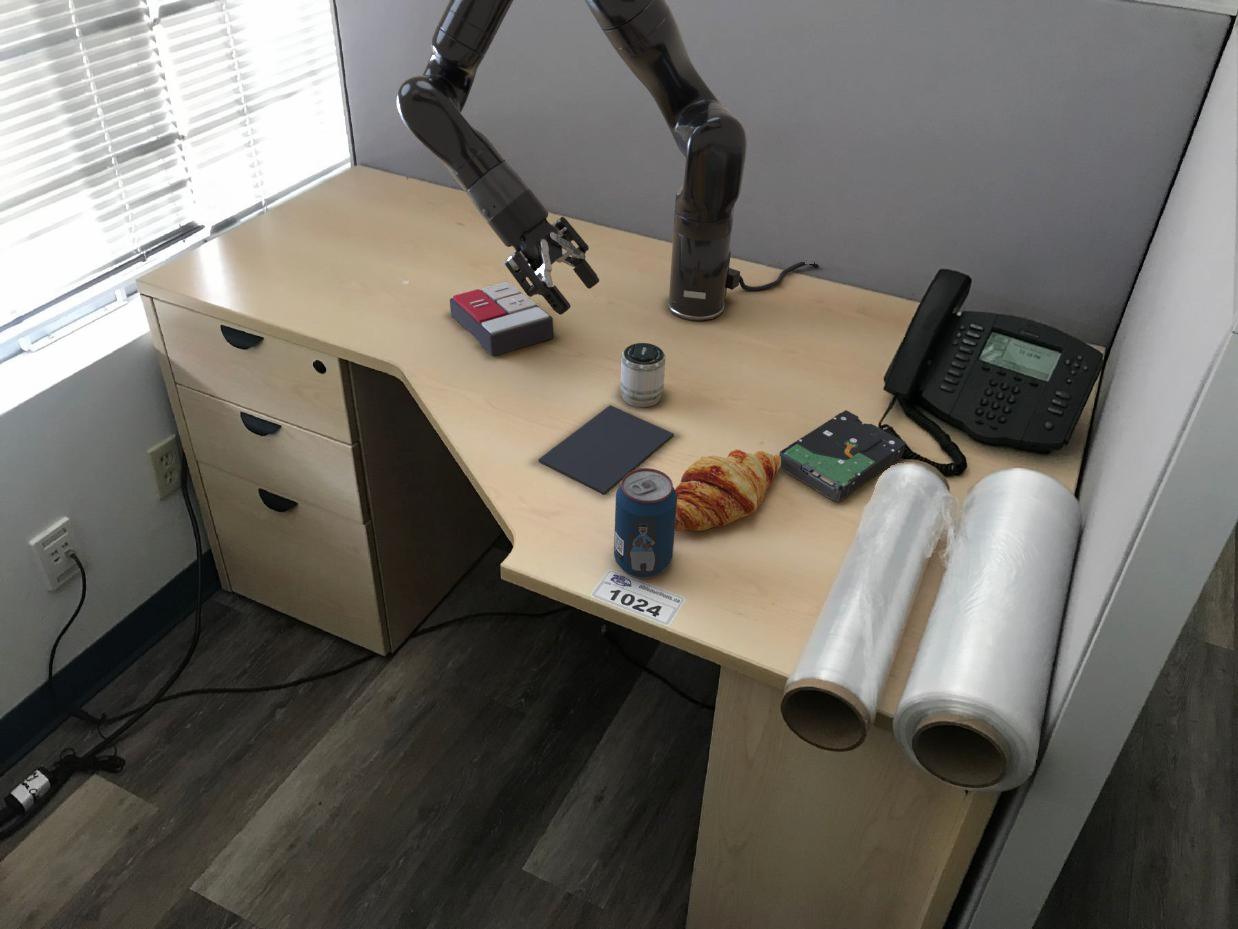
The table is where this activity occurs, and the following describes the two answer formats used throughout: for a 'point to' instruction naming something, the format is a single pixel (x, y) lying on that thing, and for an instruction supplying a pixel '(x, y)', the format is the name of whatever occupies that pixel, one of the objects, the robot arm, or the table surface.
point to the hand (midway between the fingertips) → (580, 297)
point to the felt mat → (606, 449)
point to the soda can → (645, 523)
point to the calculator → (501, 318)
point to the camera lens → (642, 374)
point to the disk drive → (841, 455)
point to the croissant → (723, 489)
